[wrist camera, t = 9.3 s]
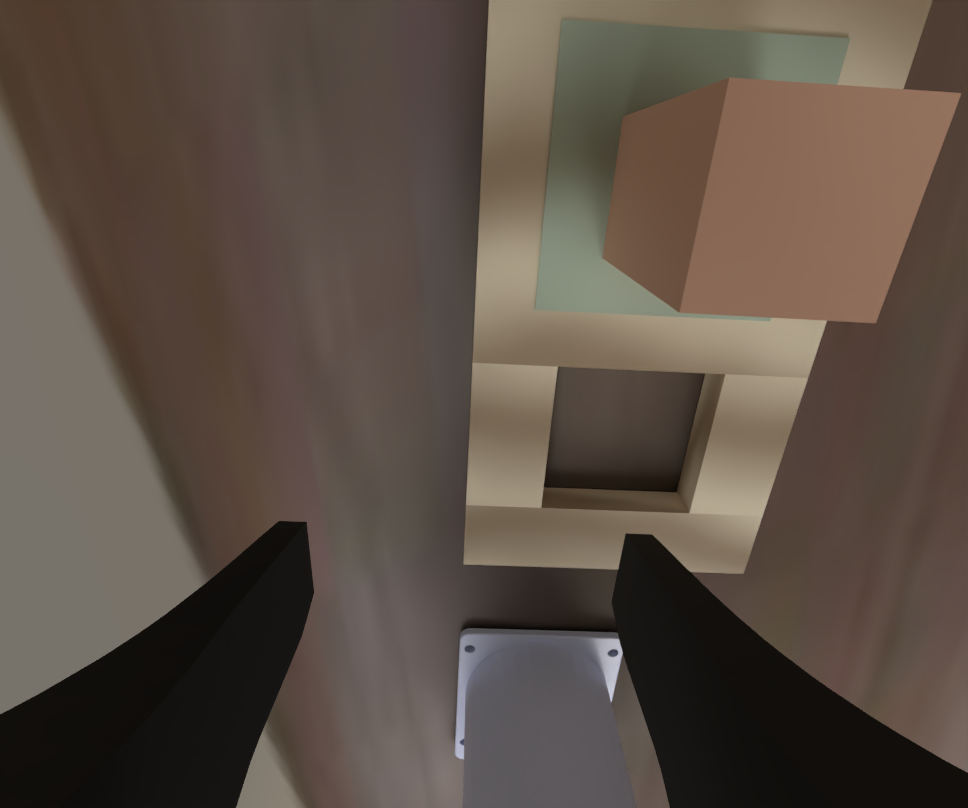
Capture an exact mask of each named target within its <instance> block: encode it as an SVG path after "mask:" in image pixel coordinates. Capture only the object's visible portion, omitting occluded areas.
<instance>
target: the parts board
mask: <svg viewBox="0 0 968 808" xmlns="http://www.w3.org/2000/svg"><path fill="white" fill-rule="evenodd" d="M932 1H933V0H489V7H488V30H487V52H486V74H485V96H484V118H483V140H482V162H481V184H480V206H479V228H478V250H477V272H476V294H475V316H474V338H473V360H472V382H471V405H470V427H469V449H468V471H467V493H466V515H465V537H464V563H463V564H467V565H497V566H527V567H557V568H587V569H617V570H618V568H619V563H620V558H621V553H622V549H623V544H624V539H625V534H626V533H628V534H652V535H653V536H654V537H655V538H656V539H657V540H659V541H660V542H661V543H662V544H663V545H664V546H665V547H666V548H667V549H668V550H669V551H670V552H671V553H672V554H673V555H674V556H675V557H676V558H677V559H678V560H679V561H680V562H681V563H682V564H683V565H684V566H685V567H686V568H687V569H688V570H689V571H690V572H707V573H737V574H744V571H745V568H746V565H747V562H748V559H749V556H750V553H751V550H752V547H753V544H754V541H755V538H756V535H757V532H758V529H759V526H760V522H761V519H762V516H763V513H764V510H765V507H766V504H767V501H768V498H769V495H770V492H771V489H772V486H773V483H774V480H775V477H776V474H777V471H778V468H779V465H780V462H781V459H782V456H783V453H784V450H785V447H786V444H787V441H788V438H789V434H790V431H791V428H792V425H793V422H794V419H795V416H796V413H797V410H798V407H799V404H800V401H801V398H802V395H803V392H804V389H805V386H806V383H807V380H808V377H809V374H810V371H811V368H812V365H813V362H814V359H815V356H816V353H817V350H818V346H819V343H820V340H821V337H822V334H823V331H824V328H825V325H826V322H827V321H824V320H805V319H786V318H767V317H748V316H729V315H710V314H691V313H679V312H677V311H676V310H675V309H673V308H672V307H670V306H669V305H668V304H666V303H665V302H663V301H662V300H661V299H659V298H658V297H656V296H655V295H653V294H652V293H651V292H649V291H648V290H646V289H645V288H644V287H642V286H641V285H639V284H638V283H637V282H635V281H634V280H632V279H631V278H630V277H628V276H627V275H625V274H624V273H622V272H621V271H620V270H618V269H617V268H615V267H614V266H613V265H611V264H610V263H608V262H607V261H606V260H604V259H603V258H602V257H603V251H604V244H605V237H606V230H607V223H608V216H609V209H610V202H611V195H612V188H613V181H614V175H615V168H616V161H617V154H618V147H619V140H620V133H621V126H622V119H623V116H626V115H629V114H631V113H634V112H637V111H640V110H642V109H645V108H648V107H651V106H653V105H656V104H659V103H661V102H664V101H667V100H670V99H672V98H675V97H678V96H680V95H683V94H686V93H689V92H691V91H694V90H697V89H699V88H702V87H705V86H708V85H710V84H713V83H716V82H719V81H721V80H724V79H727V78H729V77H730V78H745V79H759V80H774V81H789V82H804V83H819V84H833V85H848V86H863V87H878V88H893V89H904V86H905V82H906V79H907V76H908V73H909V70H910V67H911V64H912V61H913V58H914V55H915V52H916V49H917V46H918V43H919V40H920V37H921V34H922V31H923V28H924V25H925V22H926V19H927V16H928V13H929V10H930V7H931V4H932ZM558 367H577V368H599V369H621V370H643V371H665V372H687V373H705V377H704V381H703V385H702V389H701V393H700V397H699V401H698V406H697V410H696V414H695V418H694V422H693V426H692V430H691V434H690V439H689V443H688V447H687V451H686V455H685V459H684V463H683V468H682V472H681V476H680V480H679V484H678V488H677V492H654V491H628V490H601V489H575V488H549V487H544V480H545V472H546V463H547V455H548V446H549V437H550V429H551V420H552V412H553V403H554V395H555V386H556V378H557V369H558Z"/></svg>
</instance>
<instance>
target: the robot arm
mask: <svg viewBox="0 0 968 808" xmlns="http://www.w3.org/2000/svg"><path fill="white" fill-rule="evenodd" d="M313 594H314V588H313V579H312V569H311V560H310V551H309V541H308V532H307V523H306V522H290V521H279V522H277V523H276V524H275V525H274V526H273V527H271V528H270V529H269V530H268V531H267V532H266V533H264V534H263V535H262V536H261V537H260V538H259V539H257V540H256V541H255V542H254V543H253V544H252V545H251V546H249V547H248V548H247V549H246V550H245V551H244V552H242V553H241V554H240V555H239V556H238V557H237V558H236V559H234V560H233V561H232V562H231V563H230V564H228V565H227V566H226V567H225V568H224V569H222V570H221V571H220V572H219V573H218V574H216V575H215V576H214V577H213V578H212V579H210V580H209V581H208V582H207V583H206V584H204V585H203V586H202V587H201V588H199V589H198V590H197V591H195V592H194V593H193V594H192V595H190V596H189V597H188V598H186V599H185V600H184V601H182V602H181V603H180V604H179V605H177V606H176V607H175V608H173V609H172V610H171V611H170V612H168V613H167V614H166V615H164V616H163V617H161V618H160V619H159V620H157V621H156V622H154V623H153V624H152V625H150V626H149V627H147V628H146V629H144V630H143V631H141V632H140V633H139V634H137V635H135V636H134V637H132V638H131V639H129V640H128V641H126V642H125V643H123V644H122V645H120V646H119V647H117V648H116V649H114V650H113V651H111V652H109V653H108V654H106V655H105V656H103V657H102V658H100V659H98V660H96V661H95V662H93V663H91V664H90V665H88V666H86V667H85V668H83V669H81V670H80V671H78V672H76V673H74V674H73V675H71V676H69V677H68V678H66V679H64V680H62V681H61V682H59V683H57V684H56V685H54V686H52V687H50V688H49V689H47V690H45V691H44V692H42V693H40V694H38V695H36V696H35V697H32V698H31V699H29V700H27V701H25V702H23V703H21V704H19V705H18V706H16V707H14V708H12V709H10V710H8V711H6V712H4V713H2V714H0V808H236V806H237V802H238V799H239V796H240V793H241V790H242V787H243V784H244V780H245V777H246V774H247V771H248V768H249V765H250V761H251V759H252V756H253V754H254V751H255V748H256V746H257V743H258V740H259V738H260V735H261V733H262V731H263V728H264V726H265V723H266V721H267V719H268V716H269V714H270V711H271V709H272V707H273V704H274V702H275V700H276V697H277V695H278V692H279V690H280V688H281V685H282V683H283V680H284V678H285V676H286V673H287V671H288V668H289V666H290V664H291V661H292V659H293V656H294V654H295V651H296V649H297V647H298V644H299V642H300V639H301V637H302V633H303V630H304V627H305V623H306V620H307V616H308V613H309V609H310V605H311V601H312V598H313ZM612 606H613V611H614V616H615V621H616V626H617V631H618V633H615V632H588V631H554V630H520V629H486V628H467V629H465V630H463V631H462V632H461V634H460V648H459V670H458V692H457V714H456V736H455V755H456V756H457V757H458V758H460V759H464V776H463V808H637V804H636V800H635V796H634V792H633V788H632V784H631V780H630V776H629V772H628V768H627V764H626V760H625V756H624V752H623V748H622V744H621V740H620V736H619V732H618V728H617V724H616V720H615V716H614V712H613V708H612V704H611V703H612V699H613V694H614V690H615V685H616V681H617V676H618V672H619V668H620V663H621V659H622V654H623V655H624V658H625V661H626V664H627V667H628V670H629V673H630V676H631V679H632V682H633V685H634V688H635V691H636V694H637V697H638V700H639V703H640V706H641V709H642V712H643V715H644V718H645V721H646V724H647V727H648V730H649V733H650V736H651V739H652V742H653V745H654V748H655V751H656V755H657V758H658V761H659V765H660V768H661V772H662V776H663V780H664V784H665V788H666V793H667V797H668V801H669V805H670V808H968V773H967V772H965V771H963V770H961V769H959V768H957V767H956V766H954V765H952V764H950V763H948V762H946V761H945V760H943V759H941V758H939V757H938V756H936V755H934V754H933V753H931V752H929V751H927V750H926V749H924V748H922V747H921V746H919V745H917V744H915V743H914V742H912V741H910V740H909V739H907V738H905V737H904V736H902V735H900V734H898V733H897V732H895V731H894V730H892V729H890V728H889V727H887V726H886V725H884V724H882V723H881V722H879V721H877V720H876V719H874V718H873V717H871V716H870V715H868V714H866V713H865V712H863V711H862V710H860V709H859V708H857V707H856V706H854V705H853V704H851V703H850V702H848V701H847V700H845V699H844V698H842V697H841V696H839V695H838V694H836V693H835V692H833V691H832V690H830V689H829V688H828V687H826V686H825V685H823V684H822V683H821V682H819V681H818V680H816V679H815V678H813V677H812V676H811V675H809V674H808V673H807V672H805V671H804V670H803V669H801V668H800V667H799V666H797V665H796V664H795V663H793V662H792V661H791V660H790V659H788V658H787V657H786V656H784V655H783V654H782V653H780V652H779V651H778V650H776V649H775V648H774V647H773V646H771V645H770V644H769V643H768V642H767V641H765V640H764V639H763V638H762V637H760V636H759V635H758V634H757V633H756V632H755V631H753V630H752V629H751V628H750V627H749V626H748V625H747V624H745V623H744V622H743V621H742V620H741V619H740V618H738V617H737V616H736V615H735V614H734V613H733V612H732V611H731V610H729V609H728V608H727V607H726V606H725V605H724V604H723V603H722V602H721V601H720V600H719V599H717V598H716V597H715V596H714V595H713V594H712V593H711V592H710V591H709V590H708V589H707V588H706V587H705V586H704V585H703V584H702V583H701V582H700V581H699V580H698V579H697V578H696V577H695V576H694V575H693V574H692V573H691V572H690V571H689V570H688V569H687V568H686V567H685V566H684V565H683V564H682V563H681V562H680V561H679V560H678V559H677V558H676V557H675V556H674V555H673V554H672V553H671V552H670V551H669V550H668V549H667V548H666V547H665V546H664V545H663V544H662V543H661V542H660V541H659V540H657V539H656V538H655V537H654V536H653V535H652V534H628V533H626V534H625V539H624V544H623V549H622V553H621V558H620V563H619V568H618V573H617V578H616V583H615V588H614V593H613V598H612ZM467 645H472V646H467ZM612 649H614V650H612Z"/></svg>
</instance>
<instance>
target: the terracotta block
mask: <svg viewBox="0 0 968 808" xmlns="http://www.w3.org/2000/svg"><path fill="white" fill-rule="evenodd" d="M960 96H961V93H952V92H937V91H922V90H907V89H893V88H878V87H863V86H848V85H833V84H819V83H804V82H789V81H774V80H759V79H745V78H730V77H729V78H727V79H724V80H721V81H719V82H716V83H713V84H710V85H708V86H705V87H702V88H699V89H697V90H694V91H691V92H689V93H686V94H683V95H680V96H678V97H675V98H672V99H670V100H667V101H664V102H661V103H659V104H656V105H653V106H651V107H648V108H645V109H642V110H640V111H637V112H634V113H631V114H629V115H626V116H623V119H622V126H621V133H620V140H619V147H618V154H617V161H616V168H615V175H614V181H613V188H612V195H611V202H610V209H609V216H608V223H607V230H606V237H605V244H604V251H603V257H602V258H603V259H604V260H606V261H607V262H608V263H610V264H611V265H613V266H614V267H615V268H617V269H618V270H620V271H621V272H622V273H624V274H625V275H627V276H628V277H630V278H631V279H632V280H634V281H635V282H637V283H638V284H639V285H641V286H642V287H644V288H645V289H646V290H648V291H649V292H651V293H652V294H653V295H655V296H656V297H658V298H659V299H661V300H662V301H663V302H665V303H666V304H668V305H669V306H670V307H672V308H673V309H675V310H676V311H677V312H679V313H691V314H710V315H729V316H748V317H767V318H786V319H805V320H824V321H843V322H863V323H876V321H877V318H878V316H879V313H880V310H881V308H882V305H883V302H884V300H885V297H886V294H887V292H888V289H889V286H890V284H891V281H892V278H893V276H894V273H895V270H896V268H897V265H898V262H899V260H900V257H901V254H902V251H903V249H904V246H905V243H906V241H907V238H908V235H909V233H910V230H911V227H912V225H913V222H914V219H915V217H916V214H917V211H918V209H919V206H920V203H921V201H922V198H923V195H924V193H925V190H926V187H927V184H928V182H929V179H930V176H931V174H932V171H933V168H934V166H935V163H936V160H937V158H938V155H939V152H940V150H941V147H942V144H943V142H944V139H945V136H946V134H947V131H948V128H949V126H950V123H951V120H952V117H953V115H954V112H955V109H956V107H957V104H958V101H959V99H960Z"/></svg>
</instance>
